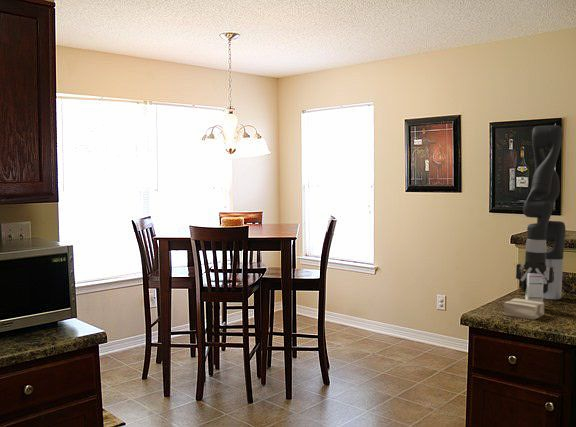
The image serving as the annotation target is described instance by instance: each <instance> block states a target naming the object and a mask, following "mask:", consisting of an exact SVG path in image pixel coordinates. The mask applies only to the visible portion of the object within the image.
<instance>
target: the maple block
mask: <svg viewBox="0 0 576 427" xmlns="http://www.w3.org/2000/svg"><path fill="white" fill-rule="evenodd" d="M503 307H504V308H503V315H504V316H510V317H514V316H515V317H516V318H520V319H527V320H531V321H534V320H536V319H538V318H540V317H542V316H544V315H545V302H544V301H543V302H538V301H532V300H525V298H518V297H515V298H511V299H510V300H507V301H505V302H504V305H503Z"/></svg>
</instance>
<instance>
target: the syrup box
mask: <svg viewBox="0 0 576 427" xmlns="http://www.w3.org/2000/svg"><path fill="white" fill-rule="evenodd" d="M542 275H543V274H542ZM543 276H544V275H543ZM525 281H526V290H525V297H524V299H525V300H532V301H538V302H544V298H543V279H541V274H538V273H528V274H527V277H526V279H525Z"/></svg>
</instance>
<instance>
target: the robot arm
mask: <svg viewBox="0 0 576 427" xmlns="http://www.w3.org/2000/svg"><path fill="white" fill-rule="evenodd" d="M563 134H564V133H563V128H562V126H560V125H537V126H534V127H533V129H532V132H531V141H532V142H531V144H532V150H533V152H532V153H533V158H534V159H533V160H534V172H533V176H532V180H531V186H530V192H529V193H528V195H527V198H526V200H525V202H524V204H523V206H522V213H523V214H524V216H525V217H526V218H532V219H533V218H536V223H530V224H528V225H527V227H526V228H527V229H526V242H525V257H524V259H525V260H524V263H516V269H515V279H517V280H519V281H520V289H521V290H522V291H525V292H526V277H527V274H528V273H538V274H541V279H543V299H547V300H561V299H562V290H563V288H562V287H563V272H564V271H563V268H564V251H565V240H566V239H565V238H566V225H565V222H564V221H559V220H550V219H551V216H552V213H553V210H554V206H553V204H554V203H555V202H556V200H557V199H558V197H559V196H560V192H561V187H560V186H561V185H560V183H561V182H560V176H559V174H558V173H557V171H556V169H555V168H556V165H557V161H558V158H559V155H560V151H561V148H562V144H563V137H564V136H563ZM545 149H550V151H549V152H548V154H547V156H546V154H545V152H544V150H545ZM547 243H554V245H553V246H552V247H550V248H548V246H547ZM523 268H524V270H525V271H526V272H525V273H523V275H522V270H523ZM542 274H543V275H544V276H543V275H542Z"/></svg>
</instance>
